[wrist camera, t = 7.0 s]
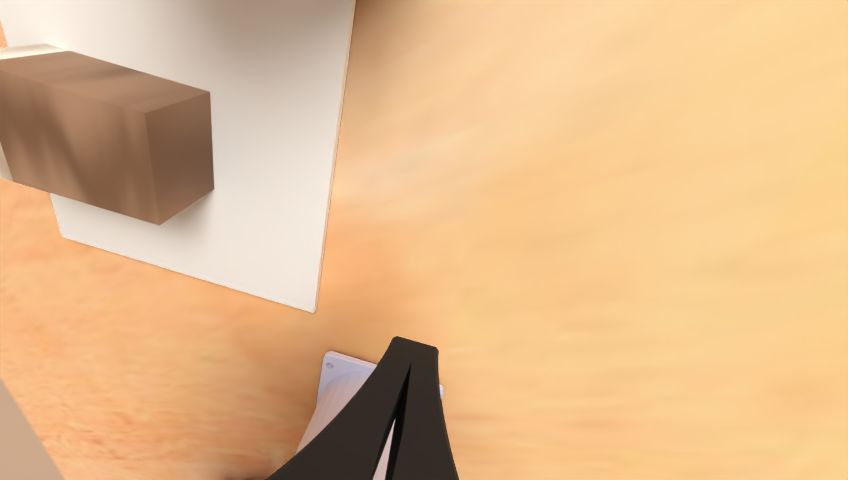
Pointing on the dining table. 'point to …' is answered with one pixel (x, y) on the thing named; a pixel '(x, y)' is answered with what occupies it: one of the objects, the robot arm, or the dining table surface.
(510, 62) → the dining table surface
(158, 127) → the walnut block
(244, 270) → the mat
